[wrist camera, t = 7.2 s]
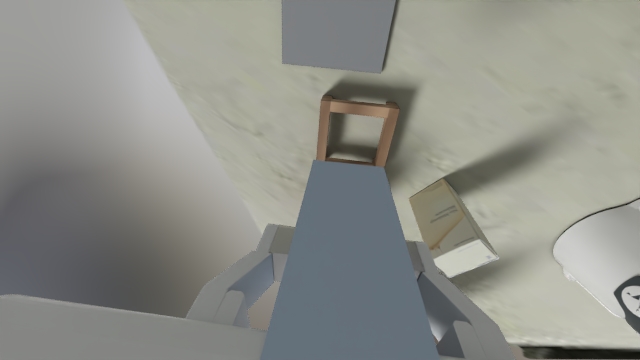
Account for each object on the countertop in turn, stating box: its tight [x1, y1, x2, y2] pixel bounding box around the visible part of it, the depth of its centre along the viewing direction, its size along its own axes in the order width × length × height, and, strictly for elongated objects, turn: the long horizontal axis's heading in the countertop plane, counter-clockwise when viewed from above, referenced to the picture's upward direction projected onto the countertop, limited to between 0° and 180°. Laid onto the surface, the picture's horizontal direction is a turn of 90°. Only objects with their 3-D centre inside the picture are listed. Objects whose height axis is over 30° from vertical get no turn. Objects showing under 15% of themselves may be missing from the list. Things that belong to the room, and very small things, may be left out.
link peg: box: [260, 160, 440, 360], centre depth 10 cm, size 4×4×10 cm
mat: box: [282, 0, 396, 74], centre depth 25 cm, size 12×12×1 cm
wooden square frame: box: [316, 95, 400, 167], centre depth 31 cm, size 9×9×3 cm
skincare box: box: [409, 179, 499, 278], centre depth 31 cm, size 6×4×12 cm
